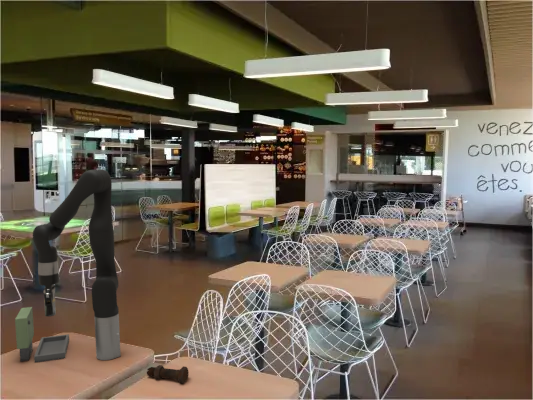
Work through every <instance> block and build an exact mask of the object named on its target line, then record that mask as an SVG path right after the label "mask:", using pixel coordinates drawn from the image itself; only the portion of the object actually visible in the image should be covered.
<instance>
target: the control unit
mask: <svg viewBox="0 0 533 400" xmlns="http://www.w3.org/2000/svg"><path fill="white" fill-rule="evenodd" d="M33 312H34V310H33V306H28V307H21V308H20V310H19V312H18V314H17V315H16V317H15V318H14V325H15V339H16V350H19V362H22V363H23V362H27V361H30V359H31V355H32V353H33V350H34V349H33V338H34V336H35V329H34V315H33V314H34V313H33Z"/></svg>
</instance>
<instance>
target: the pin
mask: <svg viewBox="0 0 533 400" xmlns="http://www.w3.org/2000/svg"><path fill="white" fill-rule="evenodd" d="M51 298H52V297H51ZM43 302H44V316H45V317H54V316H56V311H57V310H56V309H57V308H56V296H55V297H54V299H53V314H52V315H47V307H46V306H45V300H44V299H43ZM47 303H50V301H47Z"/></svg>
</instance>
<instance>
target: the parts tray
mask: <svg viewBox="0 0 533 400" xmlns="http://www.w3.org/2000/svg"><path fill="white" fill-rule="evenodd" d="M69 342H70V334H61V335H53V336H52V335H51V336H45V337H43V336H42V337H40V341H39V343H38V346H37V348H36V351H35V353H34V355H33V356H34V359H33V361H34V363H43V362H50V361H56V360H57V361H58V360H65V359H66V357H67V352H68V351H67V350H68V346H69ZM64 358H65V359H64Z"/></svg>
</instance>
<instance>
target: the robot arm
mask: <svg viewBox="0 0 533 400" xmlns="http://www.w3.org/2000/svg"><path fill="white" fill-rule="evenodd" d="M112 185H113V184H112V177H111V175H110V173H109V172H108V171H107V170H105V169H103V168H98V169H89V170H86V171H84V172H83V173H82V174H81V175H80V176H79V179H78V180H77V182H76V183H75V184H74V186H73V188H72V189H71V191H70V192H69V193H68V195H67V196H66V198H64V200H63V201H62V202H61V203H60V205H58V206H57V208H56V209H55V210H53V212H52V213H51V214H50V216H49V217H48V218H49V219H48V220H49V222H48V223H44V224H39V225H36V226H35V227H34V228H33V231H32V240H33V243H34V245H35V249H36V250H37V261H38V265H37V266H38V267H37V271H38V272H37V273H38V285H40V286H41V287H42V286H44V287H43V288H44V289H43V296H44V297H43V298H44V299H43V301H44V300H45V305H44V307H45V306H46V307H47V315H52V314H53V299H54V297H55V298H56V286H55V285H57V284H58V283H59V282H60V275H59V274H60V272H59V271H60V270H59V263H58V250H57V248H56V247H55V246H51V244H50V241H54V240H56V239H57V238H58V237H60V236H61V234H62V233H63V231H64V229H65V227H66V226H67V225H68V224H69V223H70V222H71V221H72V220H73V219H74V217H75V216H76V214H77V213H78V211H79V209H80V206H82V205H81V204H82V203H83V202H84V201H85V200H86V199H87V198H89V197H90V196H92V195H93V210H92V213H91V216H90V219H89V223H88V236H89V237H88V238H89V244H90V249H91V251H92V254H93V258H94V260H95V261H94V262H95V274H96V275H95V280H94V282H93V283H92V286H91V300H92V301H91V303H92V309H93V314H94V315H93V317H94V332H95V333H94V334H95V335H94V336H95V338H94V339H95V354H96V356H95V357H96V359H97V360H100V361H109V360H113V359H116V358H119V357H121V339H120V338H121V337H120V317H119V316H120V314H119V305H118V299H117V297H118V296H117V291H118V288H119V278H118V273H117V268H116V262H115V234H114V233H115V231H114V224H113V223H114V222H113V212H112V211H113V209H112V190H113V189H112ZM51 297H52V298H51ZM47 301H50V303H47Z"/></svg>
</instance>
